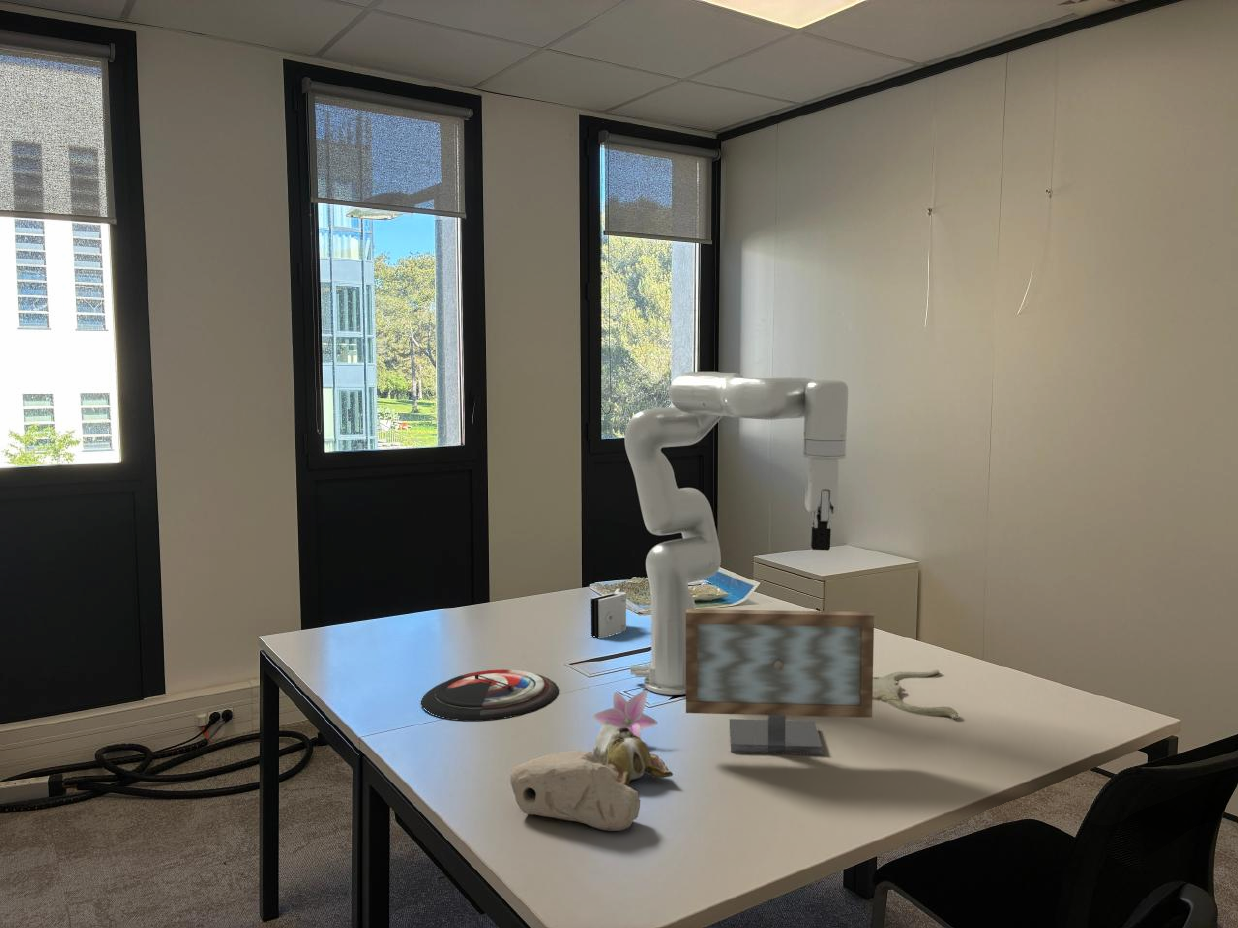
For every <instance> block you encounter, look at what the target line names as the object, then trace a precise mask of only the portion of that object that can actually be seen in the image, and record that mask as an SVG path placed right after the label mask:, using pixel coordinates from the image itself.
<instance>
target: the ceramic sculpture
mask: <svg viewBox="0 0 1238 928" xmlns="http://www.w3.org/2000/svg"><path fill="white" fill-rule="evenodd" d="M592 753H593V754H594V755H595V756H596V758H598V759H599V760H600V761H601V762H602V764H603V765H606V766H610V767H611V768H612V769H613V770H614V771H616V772H618V773H619V775H618V778H617V782H619V783H622V784H624V785H626V786H628V785H629V783H630V782H631V781H633V780H634V781H635V780H638V779H640V778H642V777H643V776H644V775H645V773H647V774H649V775H650V776H651V777H652V778H655V779H656V778H658V779H660V778H661V779H662V778H670V777H673V776H674V773H673V772H672V771H670V770H669V768H668V767H667V765H666V764H665V761H664V760H663V759H662V758H660V757H659V756H658V754H655V753H650V751H649V748H648V746H647V744H646V742H645V741H643V740H642V738H641V739H640V738H639V737H638V736H636V735H634V734H633V733H632V731H631V730H630V729H628V728H626V727H623V728H619V727H617V726H614V725H612V724H610V723H608V722H607V721H605V722H604V723H603V725H602V726H601V728H600V730H599V732H598V734H597V737H596V739H595V743H594V746H593V749H592Z"/></svg>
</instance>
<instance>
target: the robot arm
mask: <svg viewBox="0 0 1238 928" xmlns="http://www.w3.org/2000/svg"><path fill="white" fill-rule="evenodd" d="M668 396H669V400H670V402H671V404H672V405H673V407H665V406H664V407H652V408H647V409H643V410H641V411H638V412H636V413H635V414H634V415H633V416H632V417H631V418H630V419H629V421H628V423H627V425H626V428H625V432H624V448H625V452H626V455H627V458H628V461H629V463H630V467H631V469H632V472H633V476H634V481H635V484H636V490H637V495H638V501H639V505H640V510H641V514H642V518H643V521H644V524H645V527H646V530H647V531H648V532H649V533H650V534H652V535H655V536H667V535H668V536H669V535H675V534H680V533H681V537H682V538H677V539H672V540H668V541H663V542H660V543H658V544H656V545H654V546H653V547H652V548H651V549H650V550H649V552H648V553H647V555H646V559H645V570H646V574H647V578H648V579H647V581H648V585H649V595H650V596H649V597H650V635H651V636H650V641H651V642H650V645H651V646H650V650H651V651H650V652H651V654H650V656H651V657H650V659H651V660H650V662H649V664H645V666H644V665H631V666H630V675H635V678H644V681H643V685H644V688H645V689H647V691H650V692H651V693H652V692H653V693H655V694H659V695H660V694H661V695H669V696H672V695H673V696H679V695H680V696H681V695H686V609H696V603H695V600H694V597H693V594H692V593H691V591H690V588H689V585H688V584H691V583H694V582H698V581H702V580H707V579H710V578H712V577H713V576H715V575H716V574H717V573H718V572H719V570H720V567H721V562H722V557H721V556H722V555H721V548H720V547H721V546H720V542H719V538H718V533H717V528H716V526H715V519H714V515H713V511H712V507H711V505H710V502H709V500H708V499H707V497H706V495H705V494H704V493H703V492H701V490H699V489H696V488H693V487H683V488H679V487H678V485H677V481H676V477H675V472H674V469H673V466H672V464H671V463H670V461H669V460H668V457H667V456H666V455H665V454H664V453H663V452H662V449H663V448H670V447H671V448H673V447H674V448H675V447H684V446H685V447H686V446H692V445H694V444H697V443H699V442H700V441H701V440H702V439H703V438H704V437H706V435H707V434H708V433H709V432H710V431H711V430H712V429H713V428H714V426H716V424H717V423H718V422H719V421H720V420H721V419H722V418H723V417H731V418H739V419H740V418H741V419H753V420H766V421H767V420H769V421H771V420H786V419H801V418H802V419H804V421H803V442H802V444H803V445H802V457H803V458H807V465H806V480H805V481H806V482H805V496H804V507H805V508H806V511H807V512H808V513H809V514H812V526H811V537H810V539H811V541H810V542H811V543H810V547H811V550H812V551H827V552H828V551H830V549H831V532H832V531H831V529H832V528H831V517H832V515H833V514H835V513H836V512H837V505H838V492H839V471H840V467H839V465H840V463H839V462H840V460H843V459H846V453H847V433H848V432H847V429H848V410H849V409H848V408H849V407H848V405H849V386H848V385H847V383H846V382H844V381H842V380H834V379H833V380H832V379H812V378H807V377H743V376H742V375H741V374H740V373H736V372H718V371H689V372H684V373H681V374H680V375H678V376H677V377H675V378H674V379H673V381H672V382H671V383H670V386H669V389H668Z"/></svg>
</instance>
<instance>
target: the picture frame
mask: <svg viewBox="0 0 1238 928" xmlns="http://www.w3.org/2000/svg"><path fill="white" fill-rule="evenodd" d="M874 633H875V614H874V613H873V612H872V611H844V610H843V611H838V610H835V611H833V610H832V611H831V610H830V611H828V610H781V609H780V610H776V609H774V610H773V609H772V610H771V609H769V610H768V609H767V610H766V609H764V610H763V609H714V608H713V609H709V608H707V609H706V608H705V609H704V608H703V609H702V608H701V609H698V608H695V609H686V694H685V714H707V715H708V714H709V715H710V714H712V715H744V716H745V715H746V716H747V715H749V716H768V715H779V716H785V717H822V718H823V717H824V718H825V717H826V718H856V719H857V718H859V719H861V718H865V719H872V718H873V677H874V649H875V648H874V646H875V645H874V641H875V640H874V639H875V638H874V637H875V636H874V635H875V634H874Z"/></svg>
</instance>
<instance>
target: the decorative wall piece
mask: <svg viewBox="0 0 1238 928" xmlns="http://www.w3.org/2000/svg"><path fill="white" fill-rule="evenodd" d="M939 673H940V670H939V669H932V670H931V671H896V672H892V673H889V674H886V675H885V676H882V677H880V676H873V699H872V701H873V700H874V701H881V702H883V703H884V702H885V703H888V704H889V705H891V706H892V707H894V708H896V709H899V710H902V711H904V712H907V713H911V714H915V715H921V716H929V717H939V716H945V717H946V716H947V717H950V718H951V719H953V720H956V719H958V718H959V713H958V712H957V710H956V709H954V708H952V707H951V706H950V707H949V706H931V707H930V706H929V707H926V706H924V707H923V706H922V707H921V706H917V705H911V704H908V703H906V702H904V701H902V700H901V698H900V697H899V694H900V691H901V688H902V687H901V685H900V684H899V681H898V680H901V679H908V678H927V677H931V676H934V675H938V674H939Z"/></svg>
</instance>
